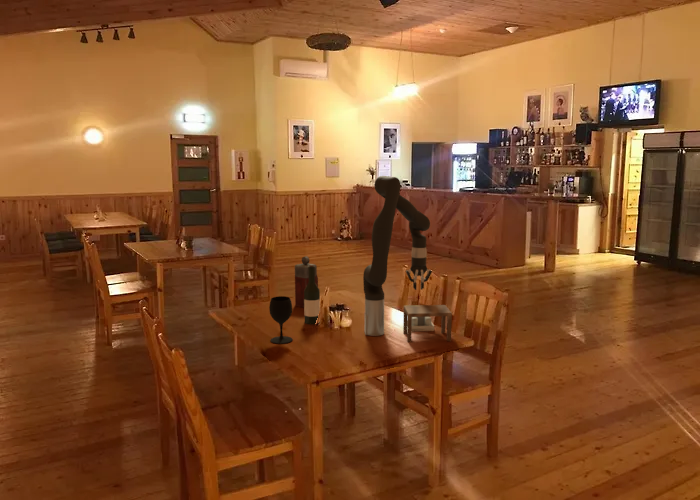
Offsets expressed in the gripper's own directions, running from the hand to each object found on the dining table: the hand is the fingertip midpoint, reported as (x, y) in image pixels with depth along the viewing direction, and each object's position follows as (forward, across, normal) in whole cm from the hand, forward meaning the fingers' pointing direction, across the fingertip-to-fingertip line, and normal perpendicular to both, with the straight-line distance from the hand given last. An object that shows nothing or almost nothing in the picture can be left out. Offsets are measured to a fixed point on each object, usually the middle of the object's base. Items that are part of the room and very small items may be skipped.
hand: (418, 289), depth 295 cm
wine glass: (+17, +68, +26) cm, 75 cm away
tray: (+17, 0, +10) cm, 20 cm away
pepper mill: (+17, +57, -38) cm, 70 cm away
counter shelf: (+17, 0, +24) cm, 30 cm away
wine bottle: (+17, +54, -2) cm, 57 cm away
